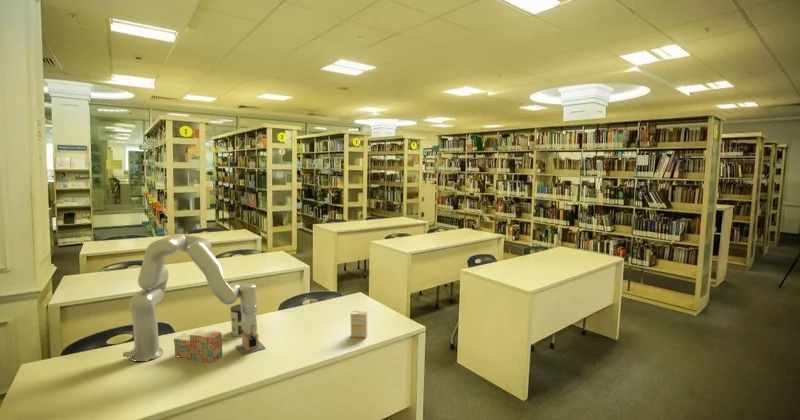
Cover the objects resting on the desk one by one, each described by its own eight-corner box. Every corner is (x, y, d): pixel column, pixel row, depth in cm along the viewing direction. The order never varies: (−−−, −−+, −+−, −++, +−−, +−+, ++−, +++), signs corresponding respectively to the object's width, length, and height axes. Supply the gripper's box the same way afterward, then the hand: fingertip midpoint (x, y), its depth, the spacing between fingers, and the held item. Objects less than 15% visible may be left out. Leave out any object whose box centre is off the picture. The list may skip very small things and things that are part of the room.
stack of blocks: (174, 357, 179) (173, 332, 178) (185, 351, 185) (183, 327, 184) (213, 363, 174) (212, 337, 173) (223, 356, 181) (221, 331, 179)
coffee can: (255, 328, 212) (254, 303, 210) (247, 336, 202) (246, 310, 200) (236, 327, 212) (235, 303, 211) (228, 336, 202) (226, 310, 200)
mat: (242, 355, 181) (242, 354, 181) (235, 346, 190) (235, 345, 190) (265, 348, 188) (265, 347, 188) (258, 340, 197) (258, 339, 197)
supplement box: (367, 334, 205) (367, 310, 204) (365, 338, 201) (365, 314, 199) (352, 333, 206) (352, 310, 205) (350, 337, 201) (350, 313, 200)
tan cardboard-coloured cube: (246, 350, 185) (245, 337, 184) (242, 346, 189) (241, 332, 189) (258, 347, 189) (258, 333, 188) (254, 342, 193) (254, 329, 192)
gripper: (235, 305, 191) (237, 339, 193) (246, 316, 178) (248, 352, 180) (251, 302, 196) (252, 335, 198) (262, 312, 182) (263, 348, 184)
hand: (250, 343), depth 189 cm, fingers open, 7 cm apart
